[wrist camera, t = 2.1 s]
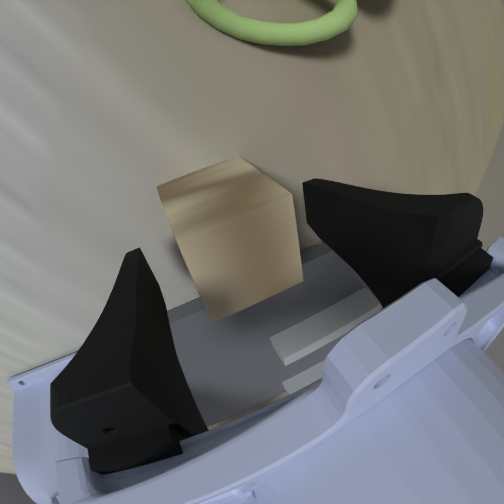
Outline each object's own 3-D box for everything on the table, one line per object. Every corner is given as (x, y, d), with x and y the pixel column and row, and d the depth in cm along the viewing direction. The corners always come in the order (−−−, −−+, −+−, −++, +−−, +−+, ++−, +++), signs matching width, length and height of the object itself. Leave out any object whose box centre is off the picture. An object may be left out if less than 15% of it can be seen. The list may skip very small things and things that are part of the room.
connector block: (183, 255, 15) (212, 322, 11) (156, 186, 13) (175, 240, 9) (254, 225, 16) (303, 280, 12) (238, 155, 14) (292, 194, 10)
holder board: (181, 425, 24) (191, 452, 22) (96, 341, 16) (99, 381, 13) (367, 334, 28) (385, 354, 26) (379, 215, 20) (410, 236, 17)
